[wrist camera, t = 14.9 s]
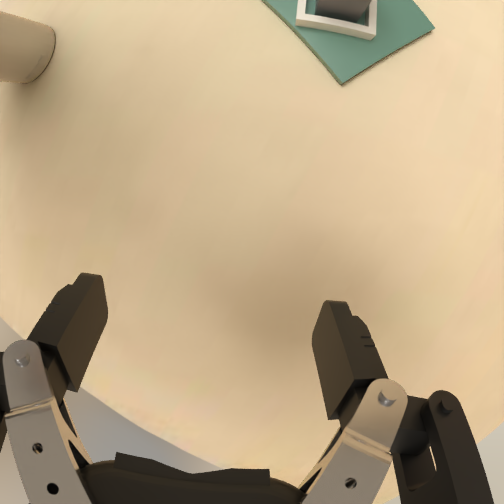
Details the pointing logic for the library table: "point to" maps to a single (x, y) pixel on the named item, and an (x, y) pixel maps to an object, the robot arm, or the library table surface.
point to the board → (358, 50)
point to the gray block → (341, 9)
